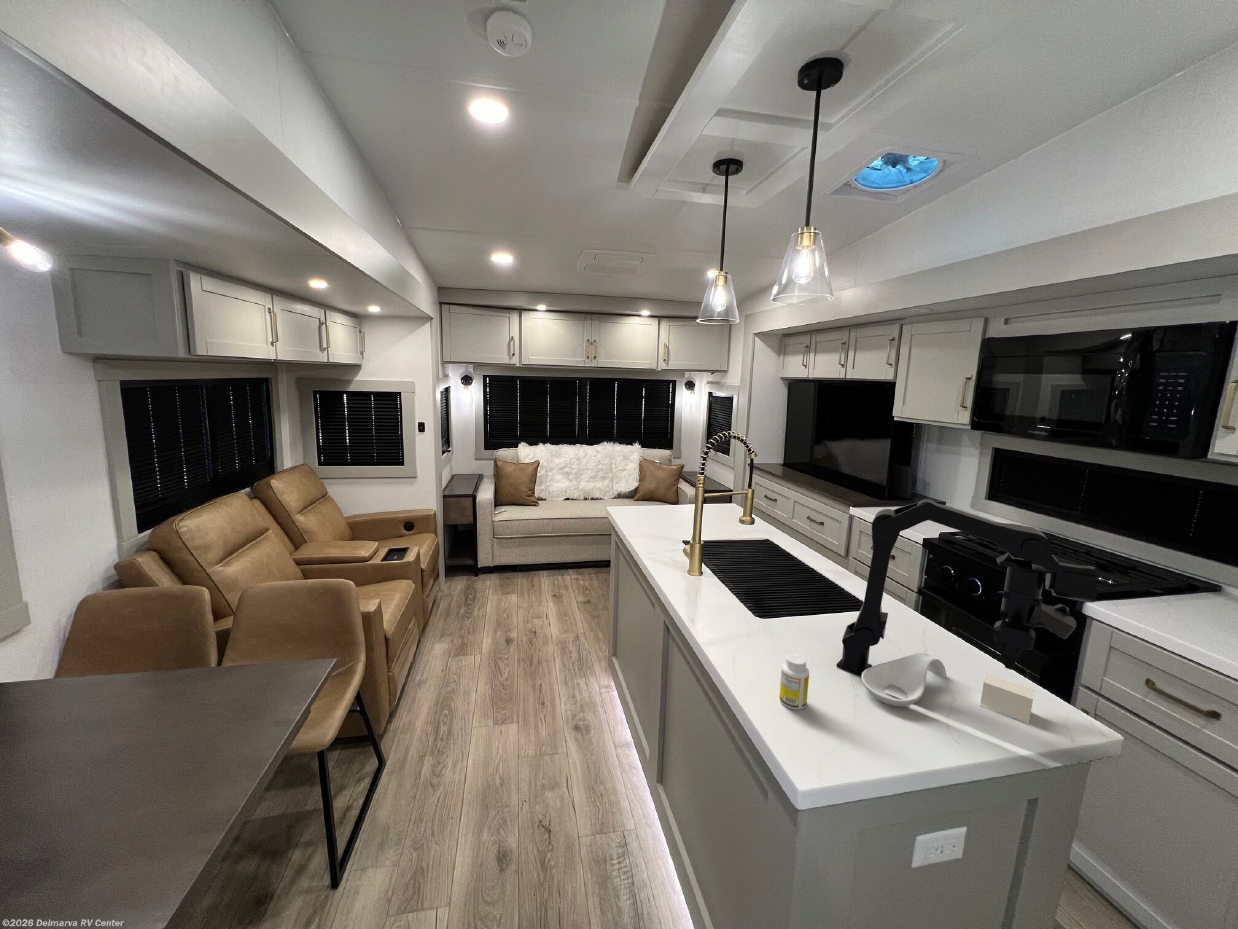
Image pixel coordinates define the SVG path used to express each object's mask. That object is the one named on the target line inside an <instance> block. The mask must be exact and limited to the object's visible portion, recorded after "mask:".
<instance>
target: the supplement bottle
mask: <svg viewBox="0 0 1238 929" xmlns="http://www.w3.org/2000/svg"><path fill="white" fill-rule="evenodd" d="M780 673H781V674H780V687H779V701H780V703H781V704H782V705H783V706H784V707H786V708H788V709H791V710H799V711H800V710H803V709H805V708H806V707H807V704H808V691H809V680H810V670H809V668H808V667H807V659H806V658H805V657H804V656H802V655H800V654H795V653H789V654H787V655H786V658H785V662H784V663H782V665H781V672H780Z"/></svg>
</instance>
